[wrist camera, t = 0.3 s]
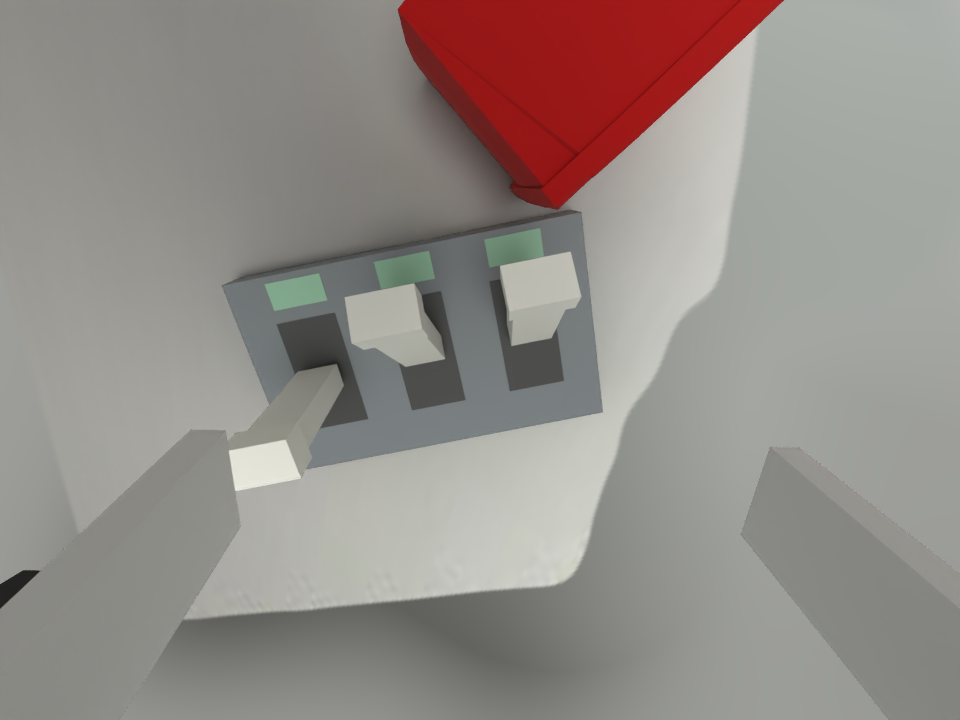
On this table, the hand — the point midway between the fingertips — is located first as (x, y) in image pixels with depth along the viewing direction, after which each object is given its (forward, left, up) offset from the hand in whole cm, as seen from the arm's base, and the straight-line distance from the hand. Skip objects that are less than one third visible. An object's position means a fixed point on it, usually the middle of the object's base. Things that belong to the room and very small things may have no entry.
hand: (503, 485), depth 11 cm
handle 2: (+4, +3, -23) cm, 24 cm away
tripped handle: (+4, -13, -24) cm, 27 cm away
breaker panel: (+4, -5, -27) cm, 28 cm away
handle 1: (+4, -5, -24) cm, 25 cm away
